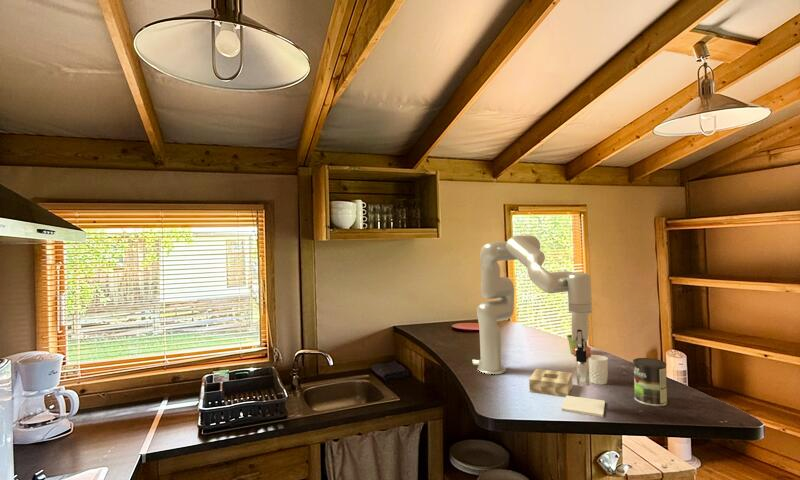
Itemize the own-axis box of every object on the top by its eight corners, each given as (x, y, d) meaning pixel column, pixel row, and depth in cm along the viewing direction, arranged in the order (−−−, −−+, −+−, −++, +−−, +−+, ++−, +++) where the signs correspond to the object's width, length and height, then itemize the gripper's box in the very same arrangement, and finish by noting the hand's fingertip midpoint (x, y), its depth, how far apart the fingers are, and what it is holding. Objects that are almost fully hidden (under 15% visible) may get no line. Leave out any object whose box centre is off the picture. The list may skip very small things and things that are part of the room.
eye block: (529, 391, 163) (529, 379, 163) (536, 380, 175) (536, 368, 175) (567, 397, 156) (567, 383, 156) (572, 385, 168) (571, 372, 168)
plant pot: (567, 355, 210) (566, 338, 210) (567, 350, 219) (566, 334, 219) (587, 356, 207) (586, 339, 207) (586, 351, 215) (586, 334, 215)
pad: (561, 410, 144) (561, 408, 144) (566, 397, 156) (566, 395, 156) (603, 417, 138) (603, 414, 138) (604, 402, 150) (604, 400, 150)
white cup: (611, 385, 166) (610, 360, 166) (590, 384, 168) (589, 360, 168) (605, 379, 174) (604, 355, 174) (585, 378, 176) (584, 354, 176)
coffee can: (646, 407, 145) (645, 366, 145) (628, 396, 155) (626, 358, 155) (674, 405, 145) (673, 365, 145) (654, 394, 156) (653, 356, 156)
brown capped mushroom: (574, 385, 146) (572, 349, 146) (575, 380, 151) (574, 345, 151) (591, 387, 143) (589, 350, 143) (592, 382, 148) (591, 346, 148)
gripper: (571, 304, 156) (573, 352, 156) (565, 311, 141) (567, 365, 141) (593, 304, 153) (595, 354, 153) (589, 312, 138) (592, 367, 138)
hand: (582, 358), depth 147 cm, fingers closed on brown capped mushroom, 5 cm apart
